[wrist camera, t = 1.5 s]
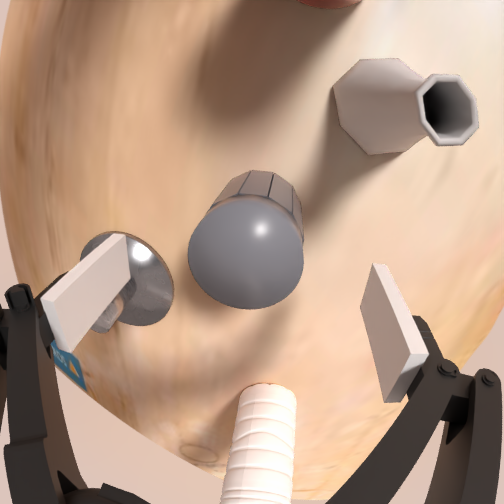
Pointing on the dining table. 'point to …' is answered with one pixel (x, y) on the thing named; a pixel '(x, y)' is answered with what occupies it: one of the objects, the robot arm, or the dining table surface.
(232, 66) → the dining table surface
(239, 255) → the grey domed cylinder
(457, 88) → the flask
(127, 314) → the round base
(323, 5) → the soda can
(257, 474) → the water bottle
